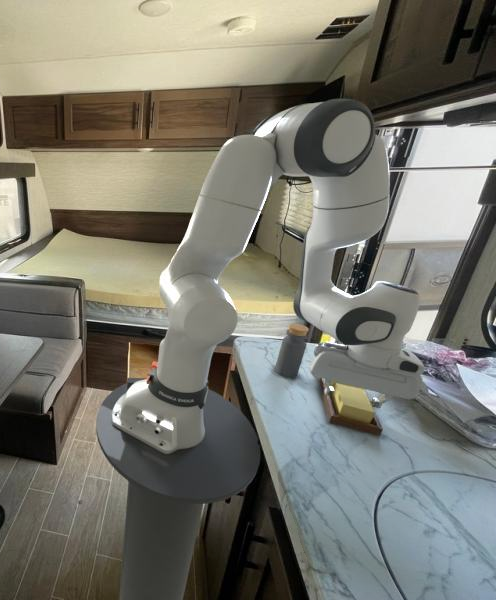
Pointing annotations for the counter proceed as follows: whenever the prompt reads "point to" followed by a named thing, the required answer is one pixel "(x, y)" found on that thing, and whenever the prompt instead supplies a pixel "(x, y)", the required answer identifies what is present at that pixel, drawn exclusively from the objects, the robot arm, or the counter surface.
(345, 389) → the foam pad
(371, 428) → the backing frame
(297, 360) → the bottle
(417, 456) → the counter surface
